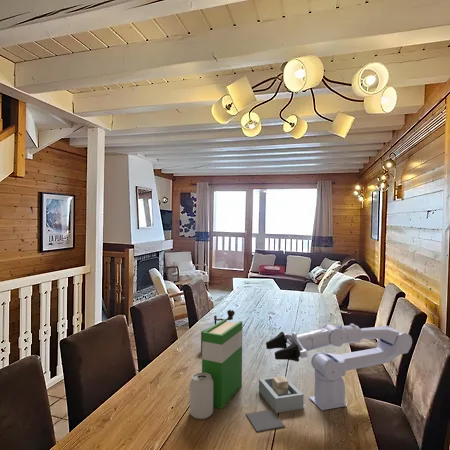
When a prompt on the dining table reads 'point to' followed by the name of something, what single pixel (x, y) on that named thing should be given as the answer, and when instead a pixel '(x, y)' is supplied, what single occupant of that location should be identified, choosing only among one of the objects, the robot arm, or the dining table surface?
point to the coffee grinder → (230, 317)
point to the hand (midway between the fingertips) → (270, 350)
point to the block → (280, 385)
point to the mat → (265, 420)
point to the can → (201, 395)
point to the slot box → (281, 396)
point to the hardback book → (223, 359)
